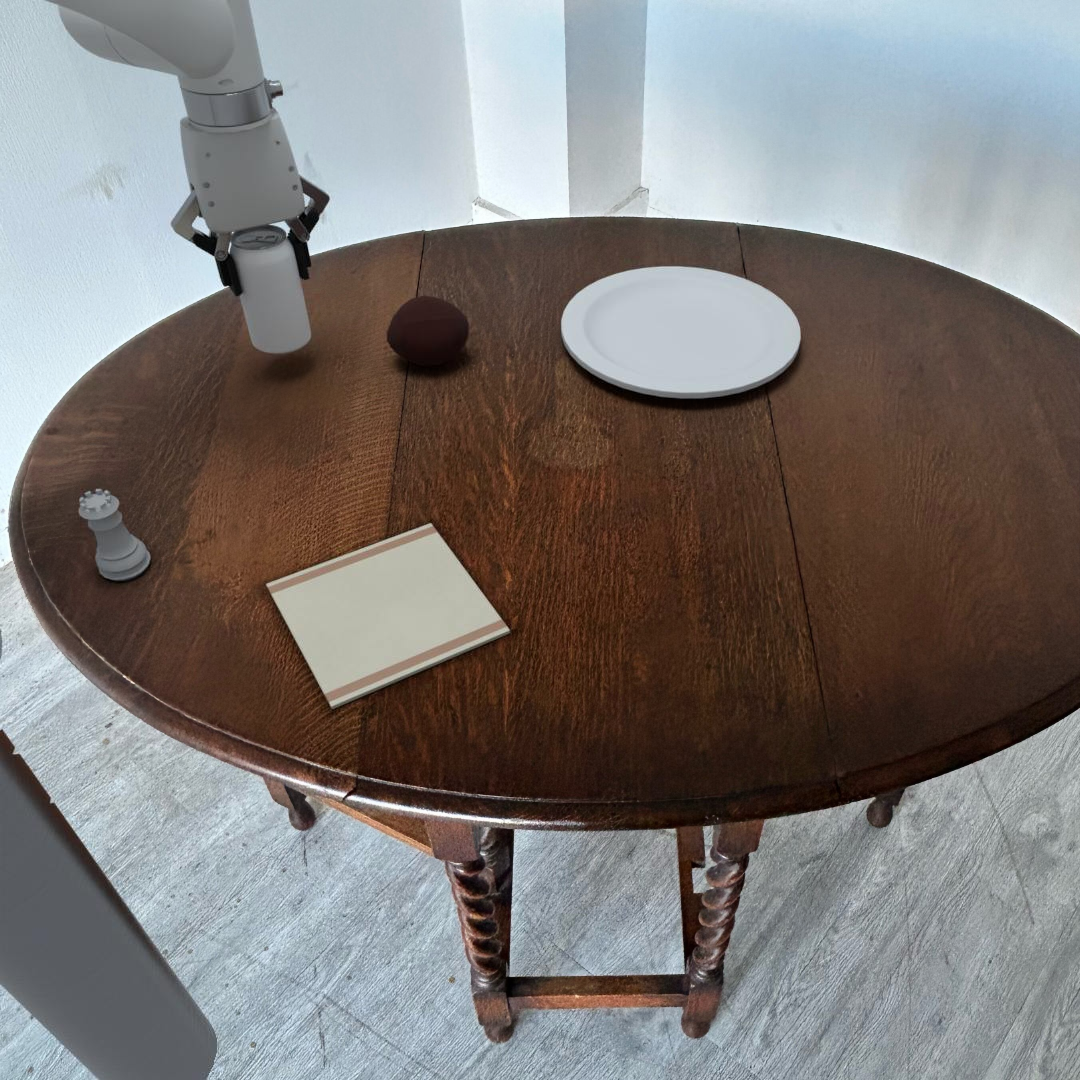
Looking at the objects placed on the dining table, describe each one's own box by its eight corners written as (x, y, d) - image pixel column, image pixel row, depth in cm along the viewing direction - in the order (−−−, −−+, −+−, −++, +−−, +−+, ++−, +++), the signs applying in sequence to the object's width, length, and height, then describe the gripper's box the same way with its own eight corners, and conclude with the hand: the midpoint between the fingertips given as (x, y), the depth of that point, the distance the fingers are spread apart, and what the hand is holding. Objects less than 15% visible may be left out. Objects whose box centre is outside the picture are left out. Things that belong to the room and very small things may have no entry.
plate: (767, 278, 128) (769, 261, 126) (826, 403, 109) (829, 385, 107) (551, 288, 125) (551, 270, 124) (573, 417, 106) (573, 399, 104)
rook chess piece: (160, 569, 89) (130, 501, 83) (110, 590, 87) (77, 522, 81) (141, 542, 91) (111, 474, 86) (92, 563, 89) (59, 495, 84)
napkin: (332, 709, 78) (330, 706, 78) (266, 586, 88) (265, 583, 87) (510, 633, 84) (510, 629, 84) (431, 525, 94) (430, 522, 93)
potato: (477, 374, 112) (472, 313, 106) (395, 385, 110) (385, 323, 104) (466, 337, 117) (460, 276, 111) (387, 347, 115) (377, 286, 110)
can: (258, 325, 111) (233, 221, 103) (316, 326, 112) (295, 222, 103) (246, 356, 107) (218, 250, 98) (306, 356, 107) (284, 250, 99)
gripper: (303, 76, 97) (334, 250, 110) (121, 104, 91) (176, 286, 103) (331, 100, 93) (359, 278, 105) (141, 131, 86) (196, 318, 99)
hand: (268, 281), depth 104 cm, fingers closed on can, 6 cm apart
